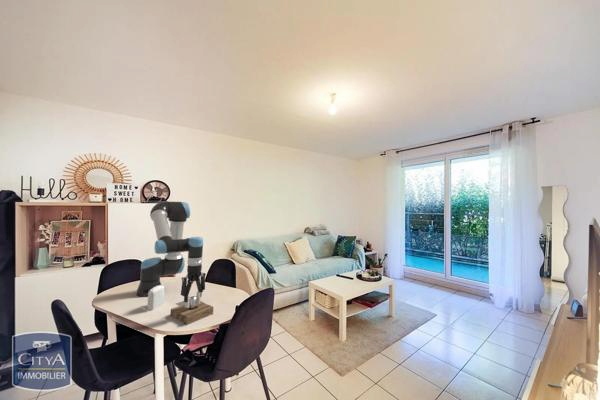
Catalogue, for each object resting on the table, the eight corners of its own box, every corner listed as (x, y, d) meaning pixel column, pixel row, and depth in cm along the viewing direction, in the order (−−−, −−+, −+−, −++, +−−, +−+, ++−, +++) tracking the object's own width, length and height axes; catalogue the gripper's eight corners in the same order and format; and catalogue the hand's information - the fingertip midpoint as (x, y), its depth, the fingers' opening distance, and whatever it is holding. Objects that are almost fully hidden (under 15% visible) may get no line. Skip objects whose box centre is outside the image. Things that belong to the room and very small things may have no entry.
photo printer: (152, 311, 136) (153, 289, 136) (145, 310, 137) (147, 289, 137) (164, 304, 146) (166, 284, 147) (158, 303, 147) (159, 283, 147)
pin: (188, 315, 133) (189, 297, 133) (192, 313, 135) (193, 295, 136) (191, 316, 131) (192, 298, 132) (196, 314, 134) (197, 297, 134)
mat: (175, 304, 146) (175, 303, 146) (192, 298, 156) (192, 297, 156) (186, 309, 140) (186, 308, 140) (203, 303, 150) (203, 302, 150)
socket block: (170, 316, 131) (170, 308, 131) (196, 306, 144) (196, 300, 144) (187, 324, 122) (187, 317, 122) (213, 313, 136) (213, 306, 136)
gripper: (182, 268, 124) (180, 313, 123) (213, 262, 140) (211, 301, 140) (174, 266, 128) (172, 309, 127) (205, 260, 144) (203, 298, 144)
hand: (192, 305), depth 133 cm, fingers open, 6 cm apart
